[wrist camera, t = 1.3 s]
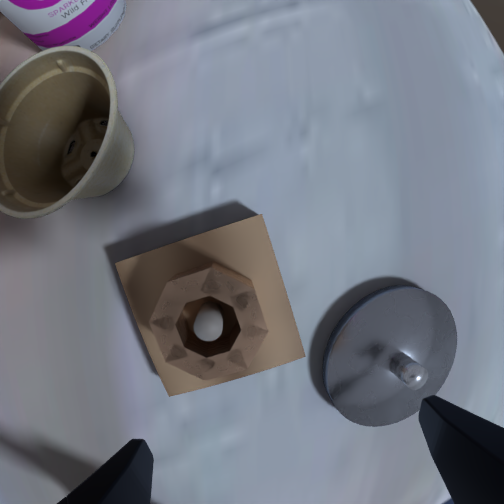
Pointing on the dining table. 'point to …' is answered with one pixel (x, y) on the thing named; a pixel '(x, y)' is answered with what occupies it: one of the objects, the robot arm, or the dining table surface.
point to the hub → (389, 355)
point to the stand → (209, 308)
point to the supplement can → (65, 21)
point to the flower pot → (60, 132)
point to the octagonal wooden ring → (223, 348)
